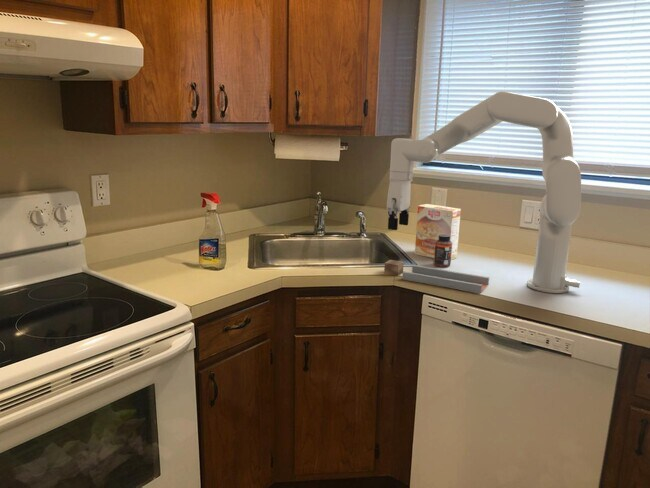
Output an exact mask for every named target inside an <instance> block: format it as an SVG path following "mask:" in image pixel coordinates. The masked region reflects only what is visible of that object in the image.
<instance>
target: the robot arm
mask: <svg viewBox="0 0 650 488" xmlns="http://www.w3.org/2000/svg"><path fill="white" fill-rule="evenodd" d="M502 122H504V123H508V124H509V123H510V124H513V125H517V126H524V127H529V128H535V129H537V130H538V131H539V133H540V135H541V141H542V143H541V144H542V169H541V170H542V171H541V174H542V177H543V179H544V181H545V194H544V196H543V197H542V198H541V202H540V205H539V220H538V221H539V224H538V235H537V240H536V248H535V249H536V250H535V257H534V267H533V275H532V278H530V279H528V280H527V281H526V285H527V286H528V288H530V289H533V290H535V291H538V292H543V293H548V294H562V293H567V292H569V290H570V287H572V288H577V289H579V288H580V286H581V281H578V280H576V279H570V278H569V277H568V274H566V273H567V267H568V266H567V265H568V259H569V253H570V252H569V251H570V244H571V237H572V229H573V228H572V227H573V223H575V222H576V221H577V220H578V218H579V217H580V214H581V209H582V208H581V207H582V174H581V168H580V165H579V164H578V163H577V161H575V160H574V144H573V143H574V142H573V129H572V126H571V125H572V124H571V122H570V120H569V118H568V117H567V115H566V114H565V113H564V112H563V111H562V110H561V109H560V108H559V107H558V106H557V105H556V104H555V102H553V101H552V100H550V99H548V98H544V97H543V98H542V97H536V96H531V95H525V94H519V93H515V92H509V91H505V90H504V91H503V90H502V91H498V92H496V93H494V94H493V95H491V96H489V97H488V98H485V99H484V100H482V101H481V102H479V103H478V104H475V105H474V106H472V107H470V108H469V109H467V110H466V111H464V112H461V114H459V115H457V116H455V118H453V119H452V120H451V121H450V122H448V123H447V124H446V125H444V126H443V127H441V128H439V129H438V130H436V131H434V132H432V133H431V134H429V135H427V136H426V137H424V138H422V139H412V138H403V137H401V138H399V137H397V138H394V139H392V140H391V144H390V163H389V164H390V165H389V186H388V191H387V199H386V210H387V213H388V214H387V219H388V220H387V230H390V231H391V230H392V231H397V230H398V229H399V227H398V225H399V226H409V217H410V208H411V206H410V205H411V198H412V197H411V195H412V193H411V192H412V191H411V189H412V187H411V184H412V183H411V182H413V176H414V162H417V163H421V164H422V163H423V164H428V163H431V162H433V161H434V160H435V159H436V158H437V157H439V156H441V155H443V154H444V153H446V152H447V151H449V150H451V149H453V148H454V147H456V146H458V145H460V144H462V143H467V142H469V141H471V140H472V139H475V138H476V137H478V136H479V135H481V134H483V133H485V132H487V131H489V130H490V129H492V128H494V127H495V126H498V124H500V123H502ZM398 216H399V217H398Z"/></svg>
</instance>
